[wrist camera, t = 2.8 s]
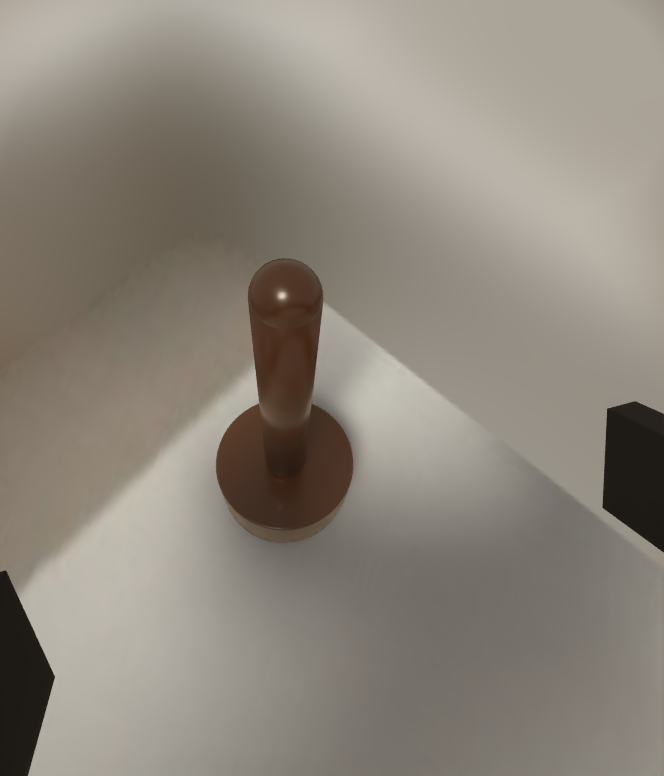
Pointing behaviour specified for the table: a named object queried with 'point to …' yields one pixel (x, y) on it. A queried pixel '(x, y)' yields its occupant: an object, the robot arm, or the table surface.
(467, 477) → the table surface
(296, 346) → the wooden peg stand
